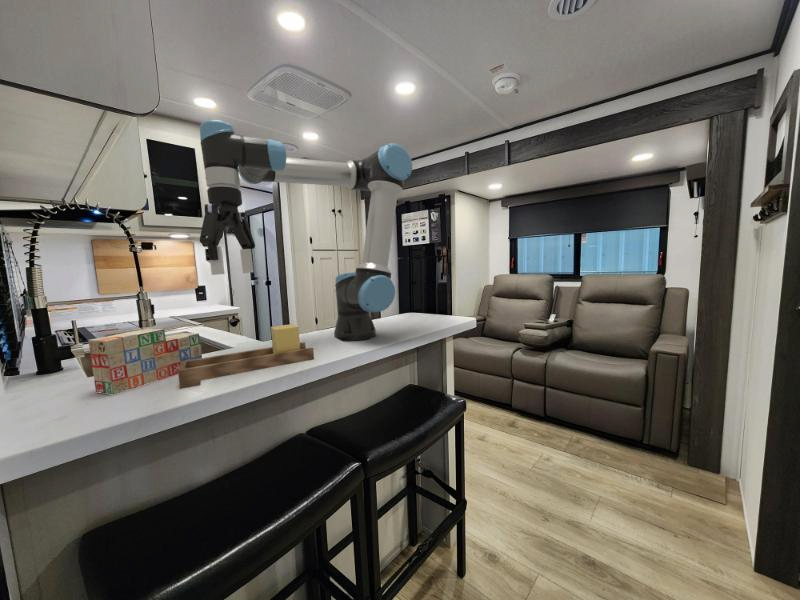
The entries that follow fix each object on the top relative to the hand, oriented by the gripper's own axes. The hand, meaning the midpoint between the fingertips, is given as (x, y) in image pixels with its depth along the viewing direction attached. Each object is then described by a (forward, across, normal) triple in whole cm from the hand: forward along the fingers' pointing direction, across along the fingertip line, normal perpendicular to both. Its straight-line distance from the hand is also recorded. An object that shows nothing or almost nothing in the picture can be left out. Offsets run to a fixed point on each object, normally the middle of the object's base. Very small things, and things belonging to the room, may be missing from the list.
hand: (234, 273), depth 83 cm
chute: (+25, +3, +3) cm, 25 cm away
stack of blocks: (+25, +7, -20) cm, 32 cm away
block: (+24, -2, +10) cm, 26 cm away
